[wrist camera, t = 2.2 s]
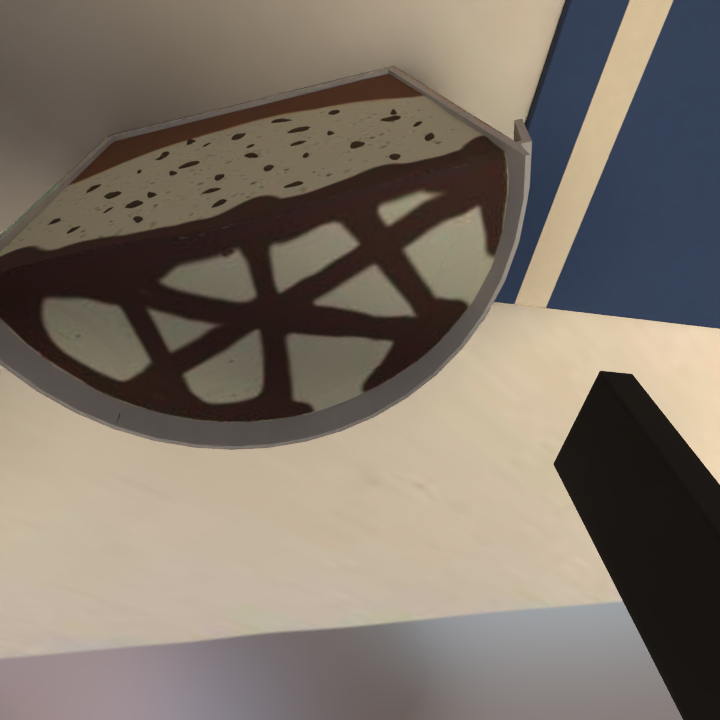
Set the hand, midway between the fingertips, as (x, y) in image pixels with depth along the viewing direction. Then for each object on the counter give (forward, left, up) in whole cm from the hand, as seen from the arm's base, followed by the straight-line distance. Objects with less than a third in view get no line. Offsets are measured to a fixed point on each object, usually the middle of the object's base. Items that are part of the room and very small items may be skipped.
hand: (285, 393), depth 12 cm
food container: (0, 0, -11) cm, 11 cm away
